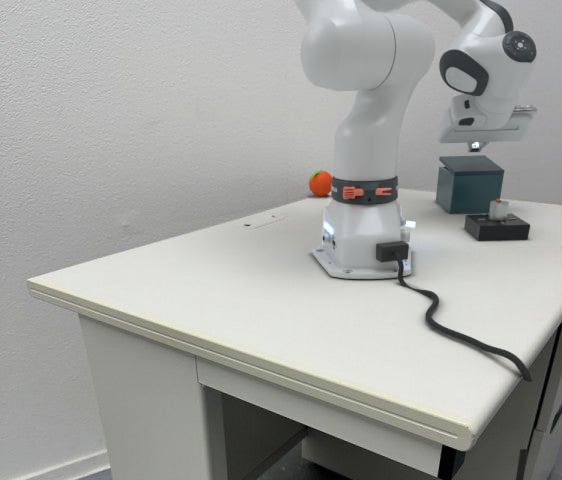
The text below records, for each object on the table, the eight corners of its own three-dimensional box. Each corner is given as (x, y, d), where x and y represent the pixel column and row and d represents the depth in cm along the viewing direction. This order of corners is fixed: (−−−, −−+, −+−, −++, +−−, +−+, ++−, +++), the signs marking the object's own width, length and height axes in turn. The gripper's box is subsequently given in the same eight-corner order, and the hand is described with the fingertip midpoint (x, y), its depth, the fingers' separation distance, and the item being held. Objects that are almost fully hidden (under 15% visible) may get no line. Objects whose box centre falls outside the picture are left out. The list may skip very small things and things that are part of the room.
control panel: (527, 239, 110) (530, 223, 109) (478, 240, 111) (480, 225, 109) (510, 227, 119) (512, 212, 118) (464, 228, 119) (466, 214, 118)
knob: (508, 221, 112) (512, 202, 110) (491, 221, 112) (494, 202, 110) (502, 217, 115) (505, 198, 113) (485, 217, 115) (488, 199, 113)
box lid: (438, 160, 141) (439, 156, 140) (484, 158, 141) (484, 155, 140) (454, 175, 128) (454, 171, 128) (504, 174, 128) (504, 170, 127)
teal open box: (435, 201, 145) (439, 166, 141) (479, 200, 145) (484, 165, 141) (449, 213, 132) (454, 175, 128) (497, 212, 132) (504, 174, 128)
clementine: (320, 200, 151) (320, 173, 148) (301, 197, 156) (301, 171, 152) (338, 195, 156) (338, 169, 153) (319, 192, 161) (319, 167, 157)
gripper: (538, 93, 120) (514, 137, 133) (444, 97, 120) (430, 140, 134) (542, 117, 118) (518, 159, 131) (447, 120, 119) (432, 162, 132)
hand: (473, 150), depth 132 cm, fingers closed
